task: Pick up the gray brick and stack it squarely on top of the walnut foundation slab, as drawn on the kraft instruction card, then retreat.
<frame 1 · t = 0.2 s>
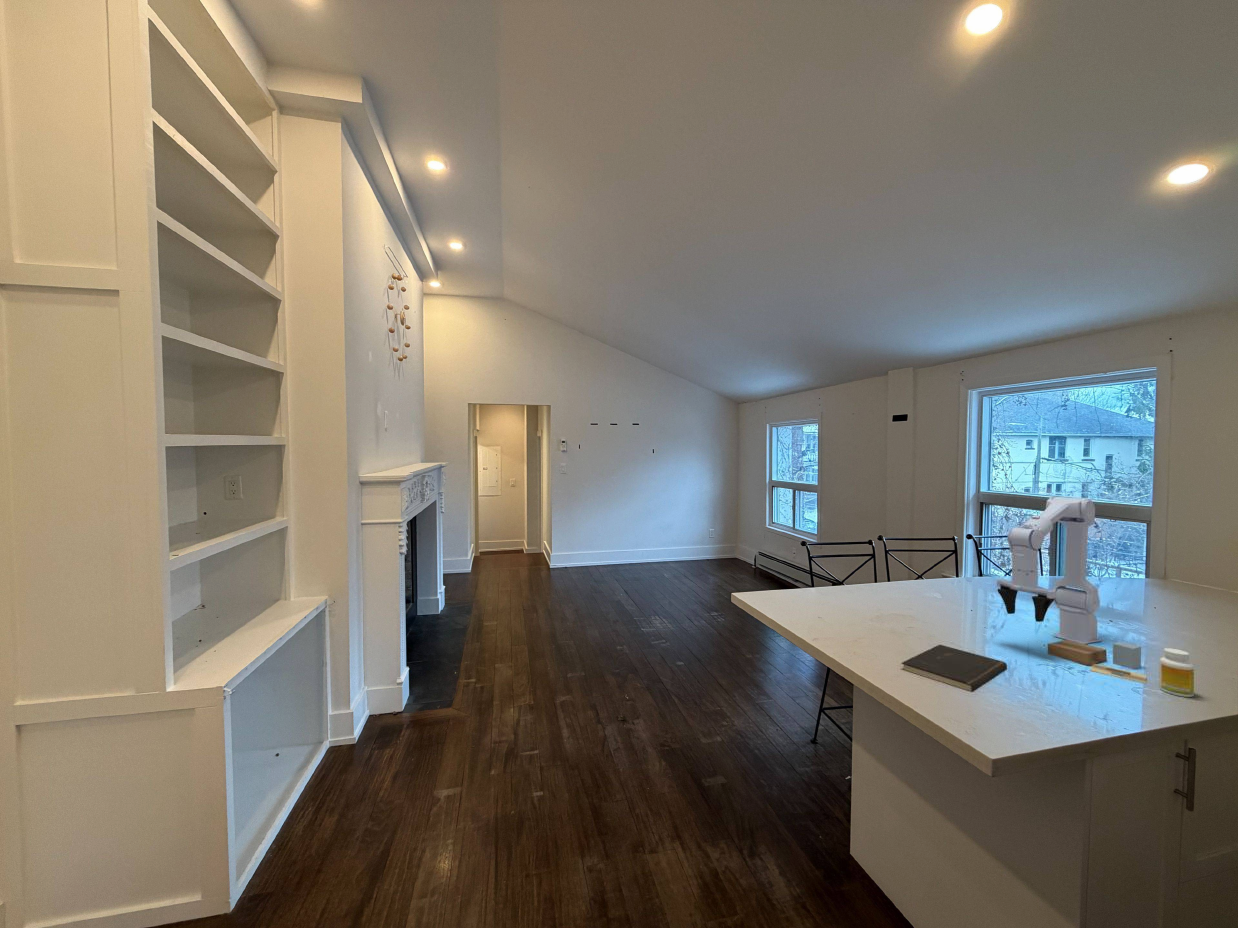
hand: (1024, 617, 141), 10 cm above the table, fingers open, 7 cm apart
walnut slab: (1076, 657, 137), on the table, touching instruction card
gray brick: (1126, 665, 132), on the table
hardcover book: (954, 671, 129), on the table
instruction card: (1117, 673, 127), on the table
supplement bottle: (1176, 693, 116), on the table
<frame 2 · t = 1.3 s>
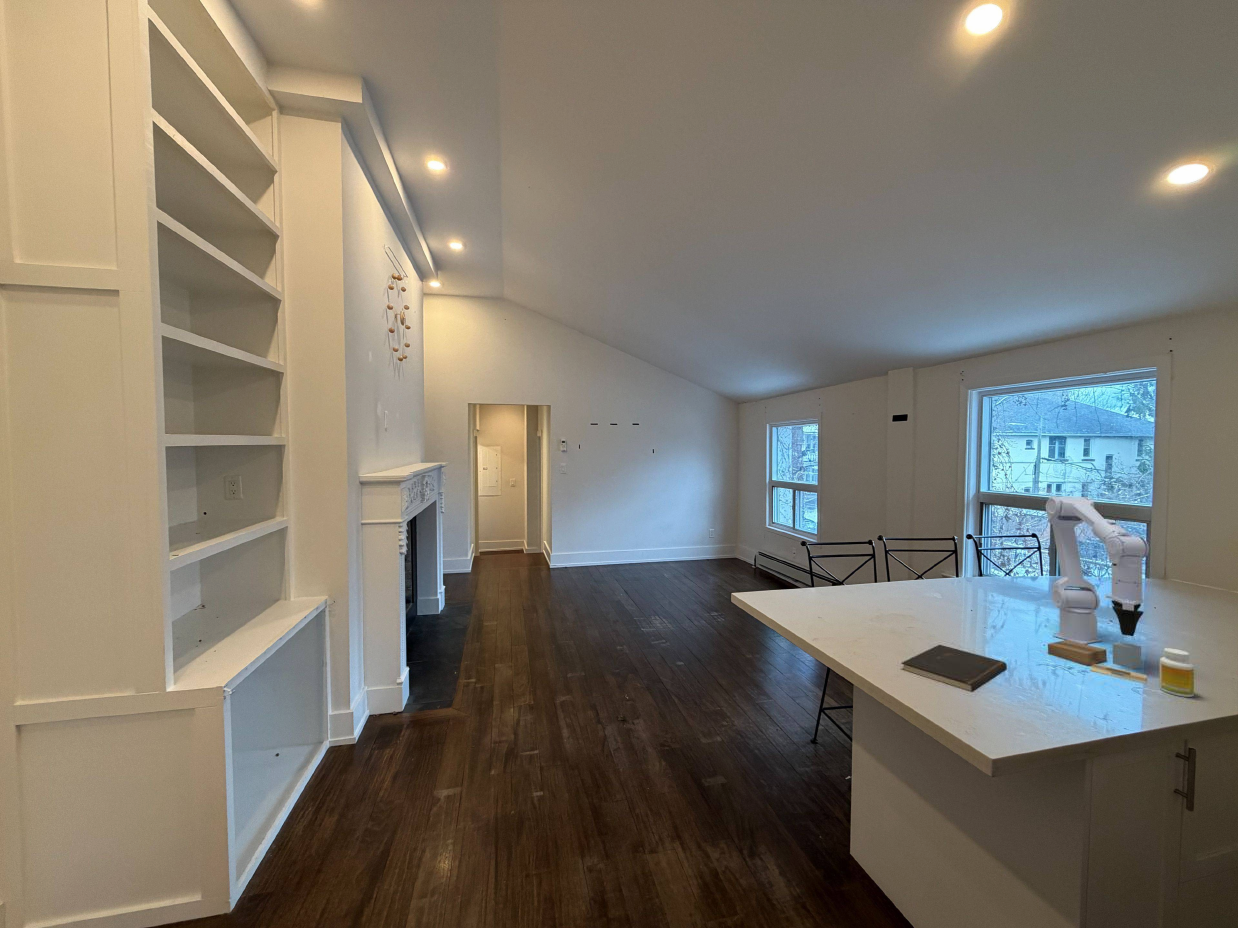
hand: (1126, 631, 132), 9 cm above the table, fingers open, 7 cm apart
nothing on the table moved.
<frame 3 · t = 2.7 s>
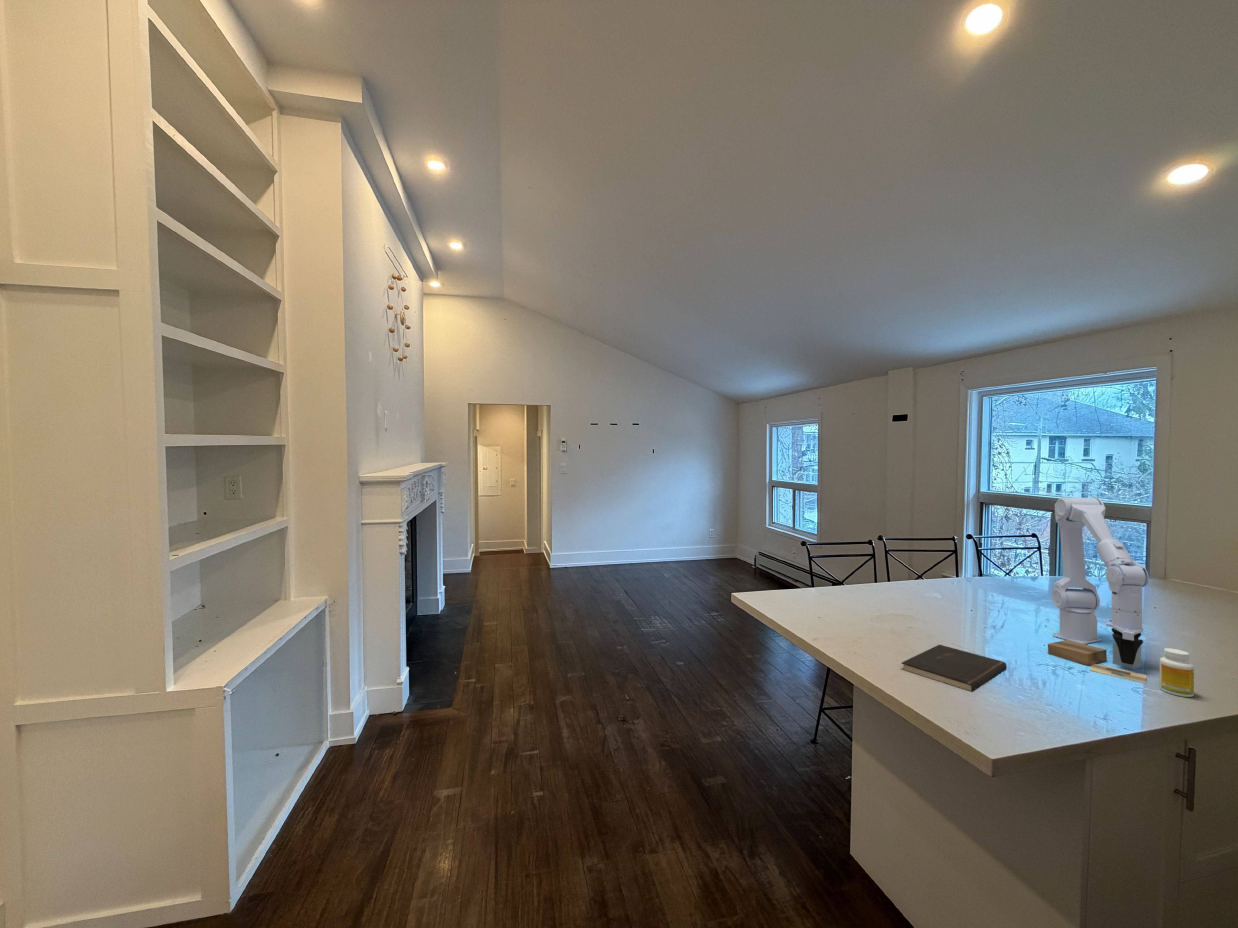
hand: (1126, 660, 132), 1 cm above the table, fingers closed on gray brick, 5 cm apart
gray brick: (1126, 665, 132), on the table, touching gripper
everything else where it was.
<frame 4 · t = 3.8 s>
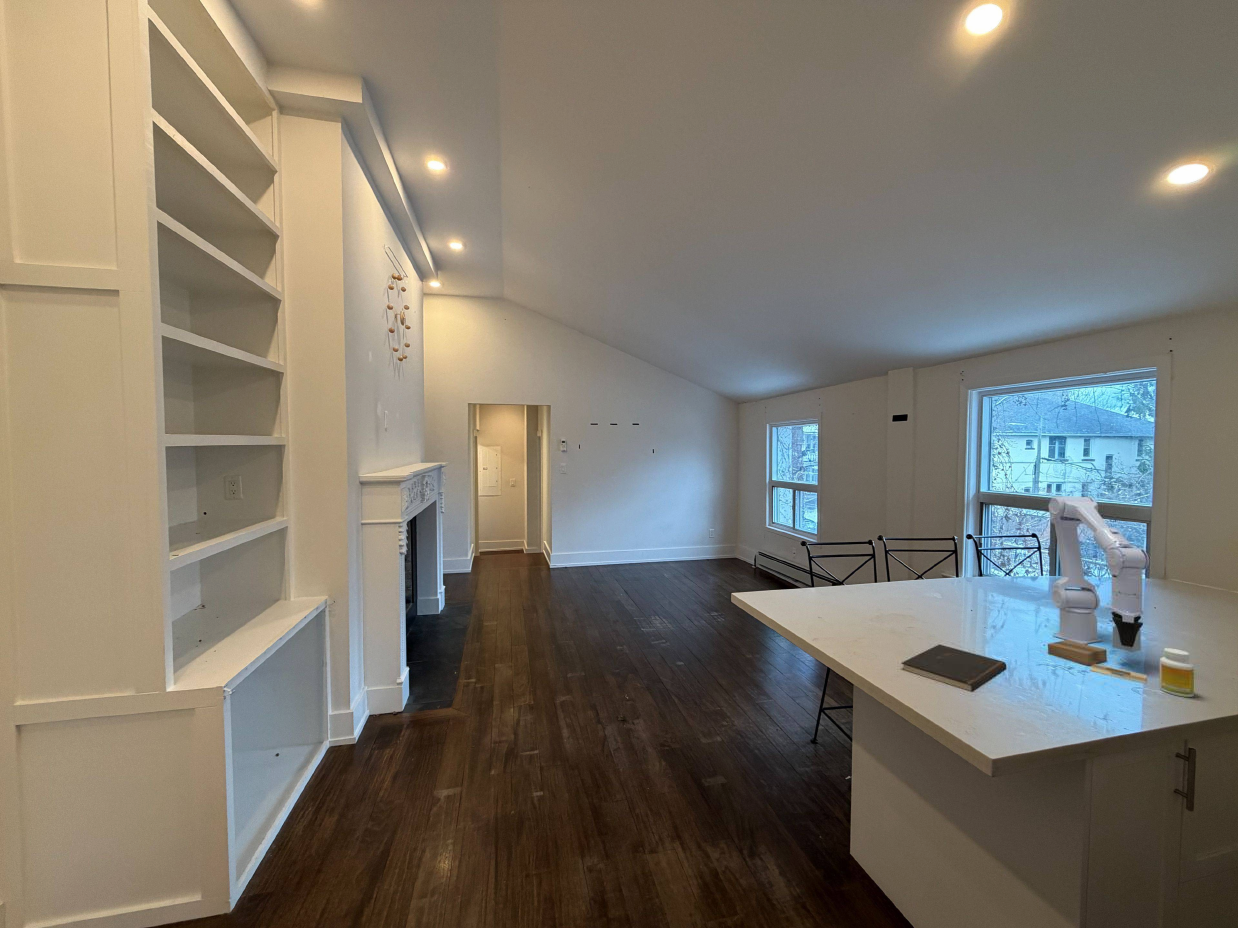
hand: (1126, 643, 132), 6 cm above the table, fingers closed on gray brick, 5 cm apart
gray brick: (1126, 648, 132), point 4 cm above the table, touching gripper
everything else where it was.
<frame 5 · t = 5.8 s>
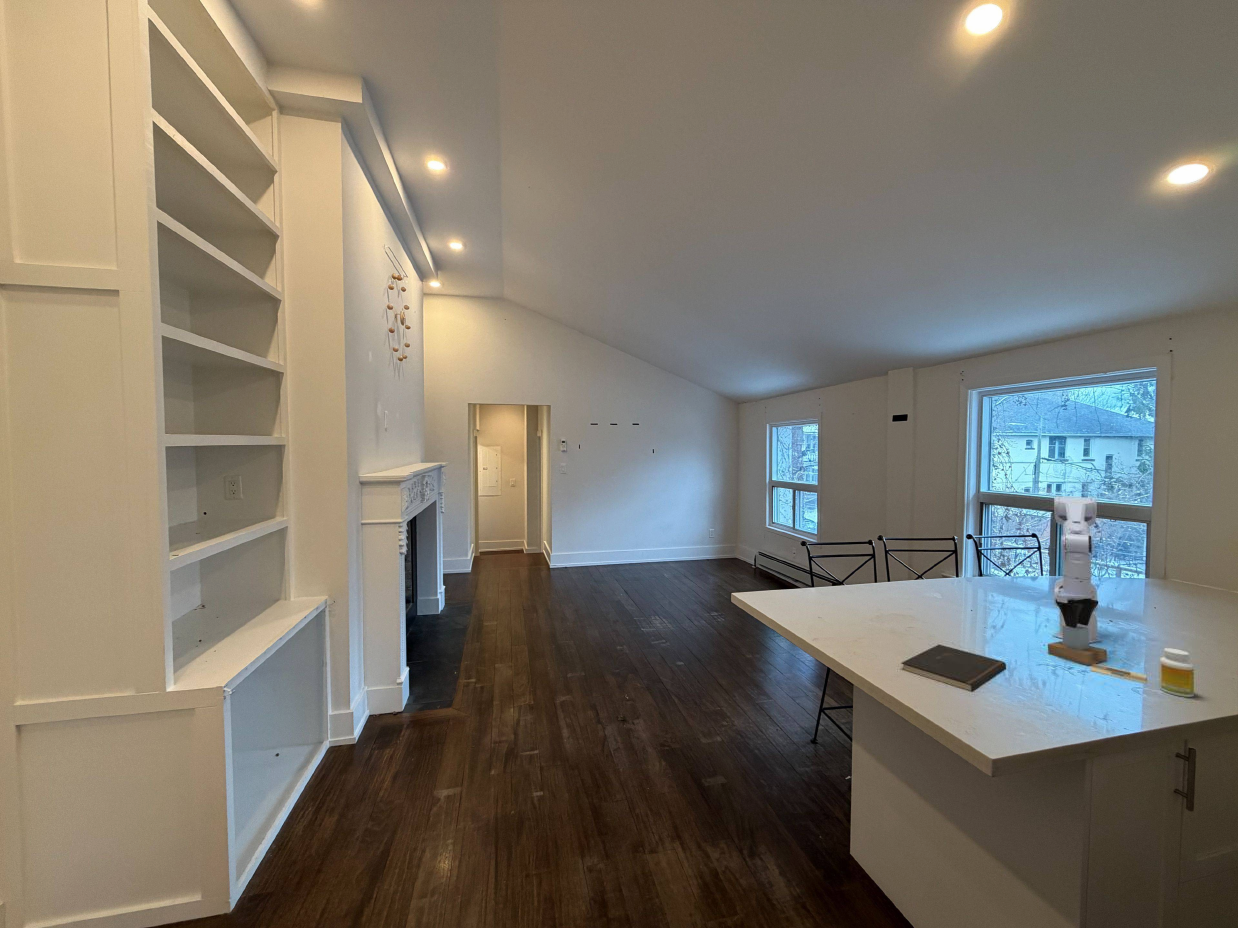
hand: (1076, 625, 137), 9 cm above the table, fingers open, 5 cm apart
walnut slab: (1077, 657, 137), on the table, touching gray brick, instruction card
gray brick: (1076, 646, 137), point 3 cm above the table, touching walnut slab
everything else where it was.
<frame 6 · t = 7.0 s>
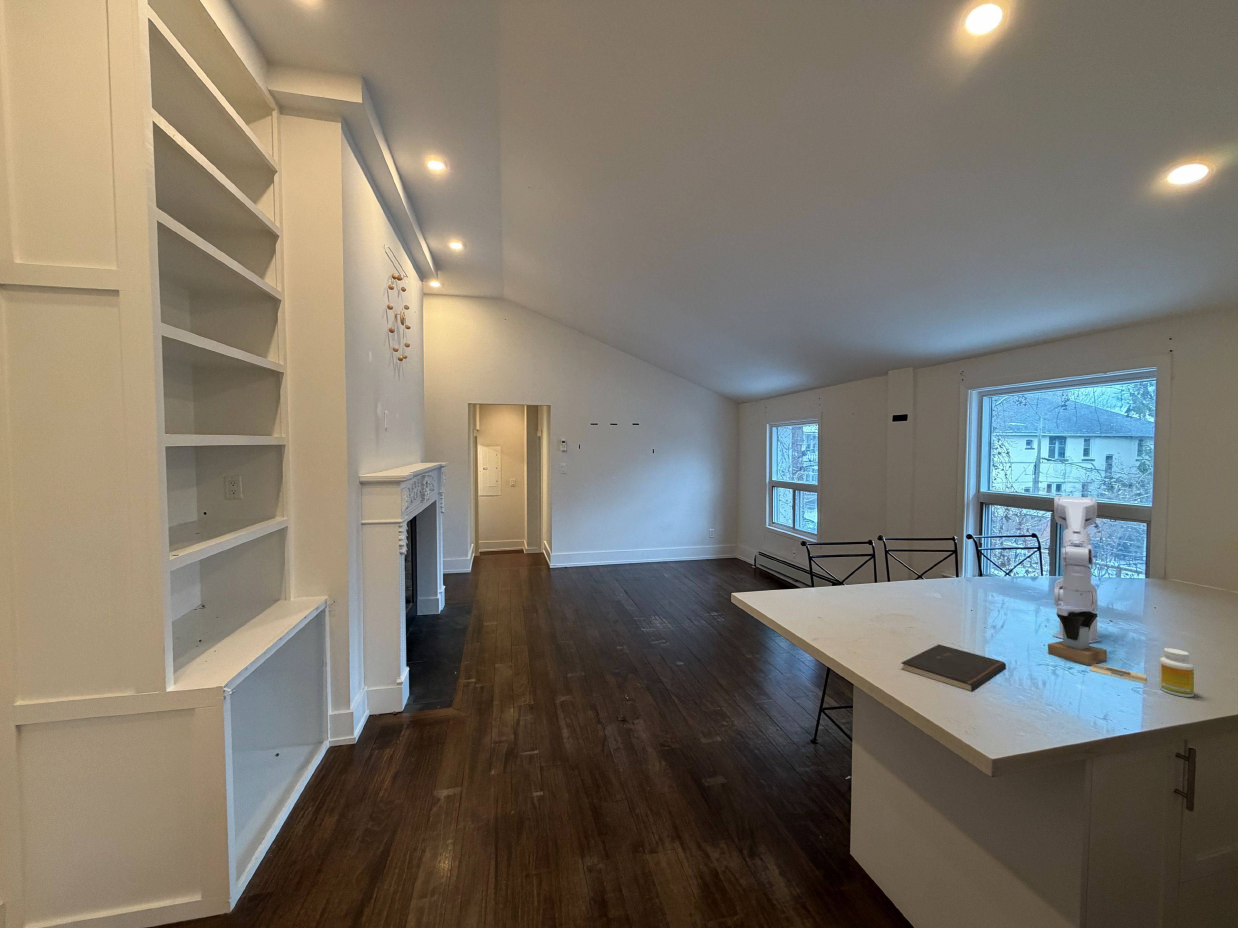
hand: (1076, 638, 137), 5 cm above the table, fingers closed on gray brick, 4 cm apart
walnut slab: (1077, 657, 137), on the table, touching instruction card
gray brick: (1076, 646, 137), point 3 cm above the table, touching gripper
everything else where it was.
when the fingers open (5 cm above the table, at t = 7.1 s): gray brick stays where it is, resting on walnut slab.
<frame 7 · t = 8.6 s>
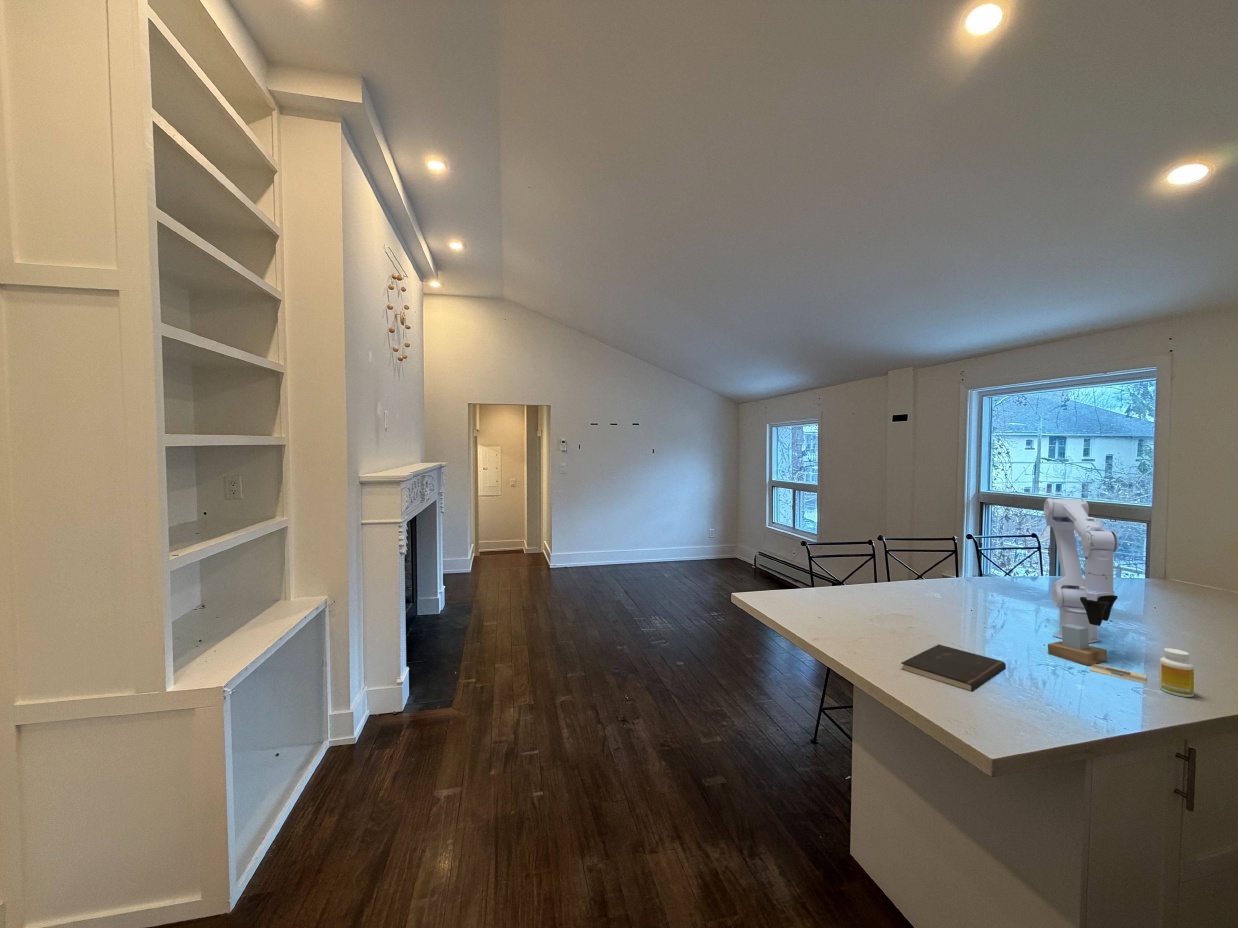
hand: (1098, 622, 137), 10 cm above the table, fingers open, 7 cm apart
walnut slab: (1077, 657, 137), on the table, touching gray brick, instruction card
gray brick: (1075, 646, 137), point 3 cm above the table, touching walnut slab
everything else where it was.
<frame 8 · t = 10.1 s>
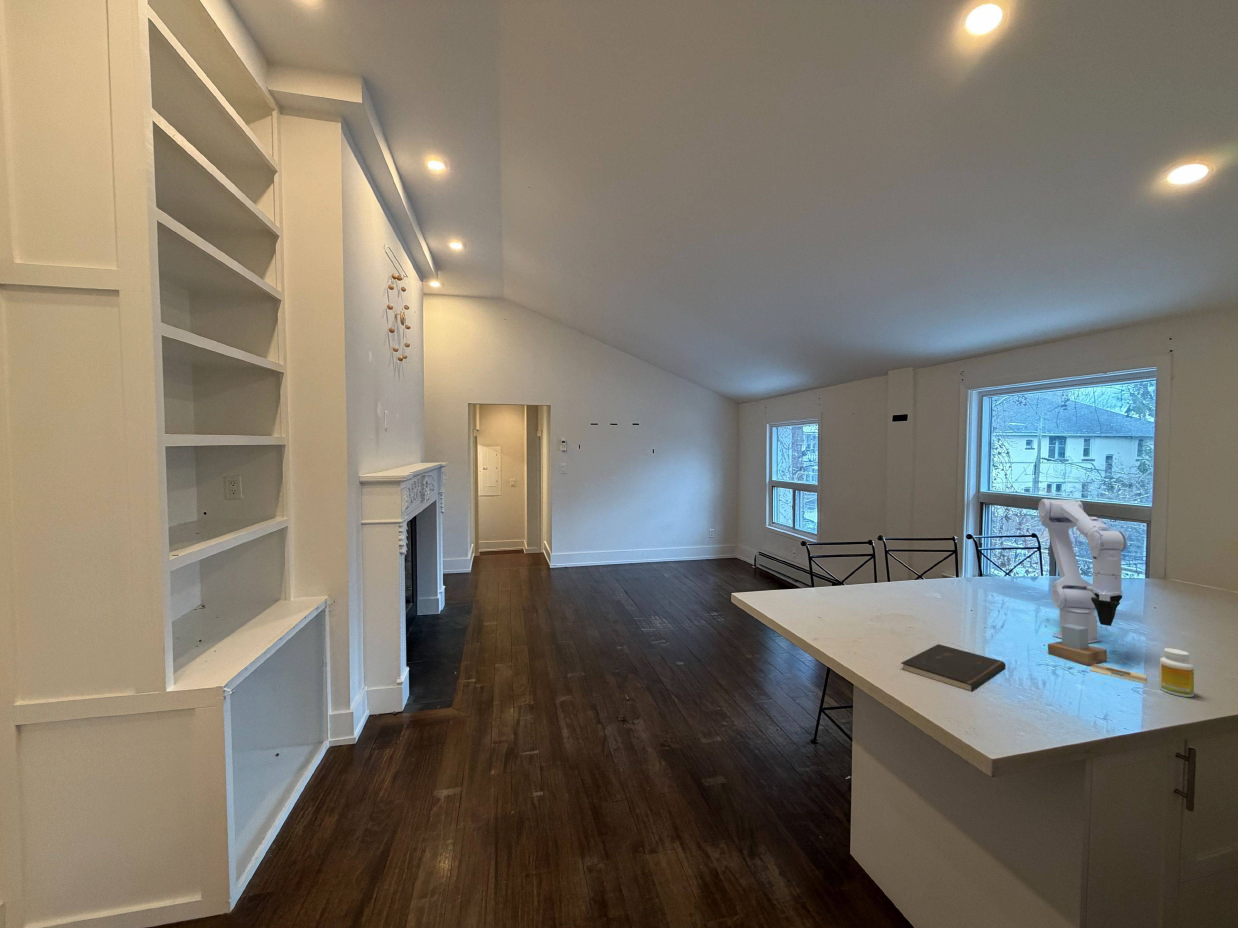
hand: (1106, 622, 137), 10 cm above the table, fingers open, 7 cm apart
nothing on the table moved.
at the end: gray brick 0.4 cm off-centre on the walnut slab, point 3.0 cm above the walnut slab's base; gray brick tilted 2°; the gripper is holding nothing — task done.
